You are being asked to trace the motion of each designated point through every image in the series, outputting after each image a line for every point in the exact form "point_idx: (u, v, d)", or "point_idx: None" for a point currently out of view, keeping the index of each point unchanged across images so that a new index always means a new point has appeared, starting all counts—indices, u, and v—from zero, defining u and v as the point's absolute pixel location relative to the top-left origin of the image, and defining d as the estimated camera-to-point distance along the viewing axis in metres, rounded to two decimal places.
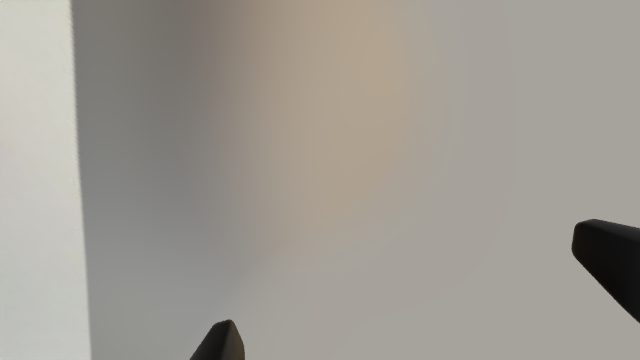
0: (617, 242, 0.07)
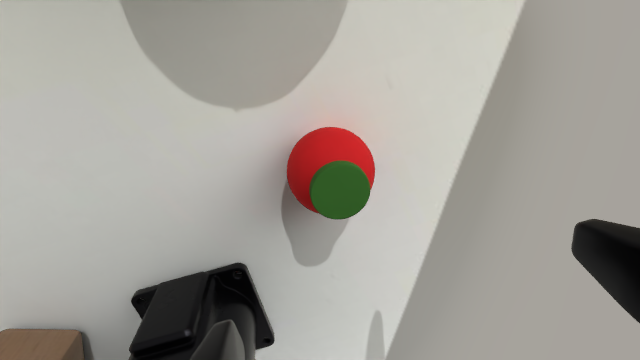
0: (617, 242, 0.07)
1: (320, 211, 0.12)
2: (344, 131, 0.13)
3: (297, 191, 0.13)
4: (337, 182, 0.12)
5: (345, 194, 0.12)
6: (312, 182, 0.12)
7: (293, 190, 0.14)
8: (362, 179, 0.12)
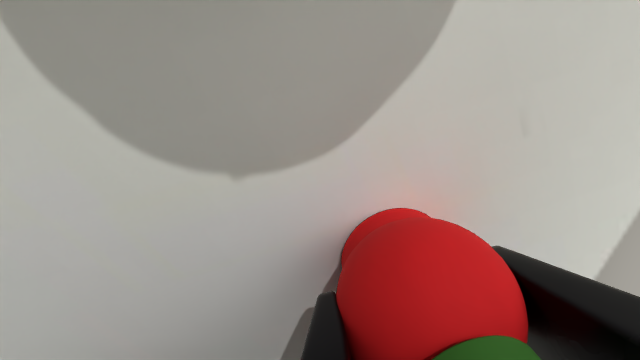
0: None
1: None
2: (467, 240, 0.06)
3: None
4: None
5: None
6: None
7: None
8: None
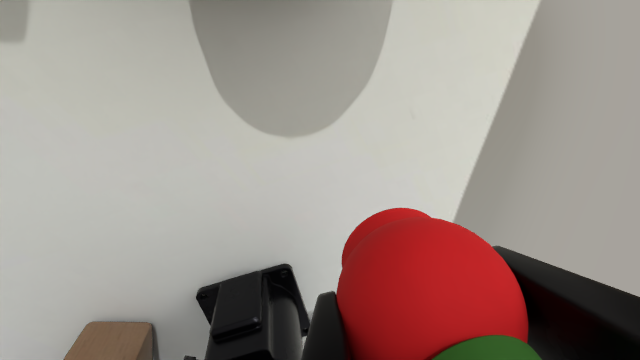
0: None
1: None
2: (467, 240, 0.06)
3: None
4: None
5: None
6: None
7: None
8: None
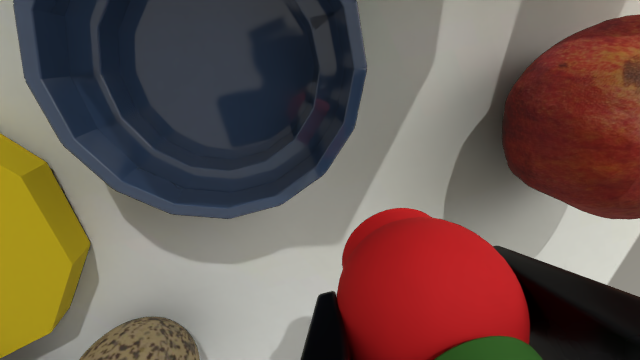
0: None
1: None
2: (470, 240, 0.06)
3: None
4: None
5: None
6: None
7: None
8: None
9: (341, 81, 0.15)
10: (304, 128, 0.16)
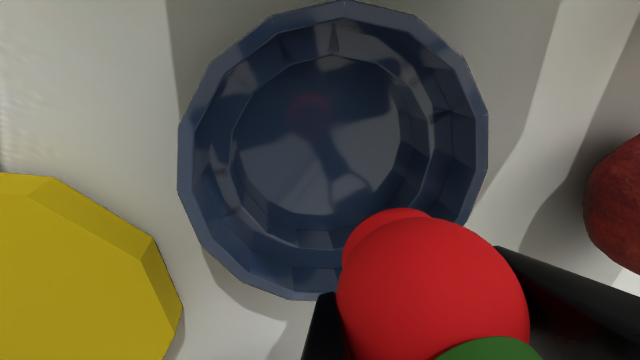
0: None
1: None
2: (469, 239, 0.06)
3: None
4: None
5: None
6: None
7: None
8: None
9: (448, 169, 0.16)
10: None
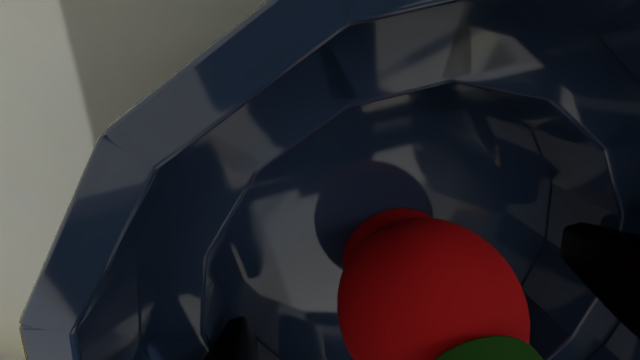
0: (603, 246, 0.07)
1: None
2: (470, 239, 0.06)
3: None
4: None
5: None
6: None
7: None
8: None
9: None
10: None
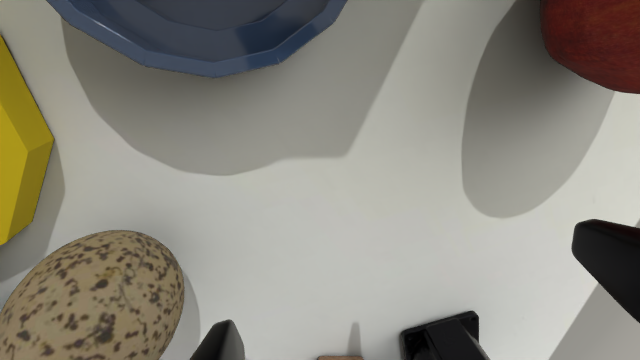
0: (617, 242, 0.07)
1: None
2: None
3: None
4: None
5: None
6: None
7: None
8: None
9: None
10: None
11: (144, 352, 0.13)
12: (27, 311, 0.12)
